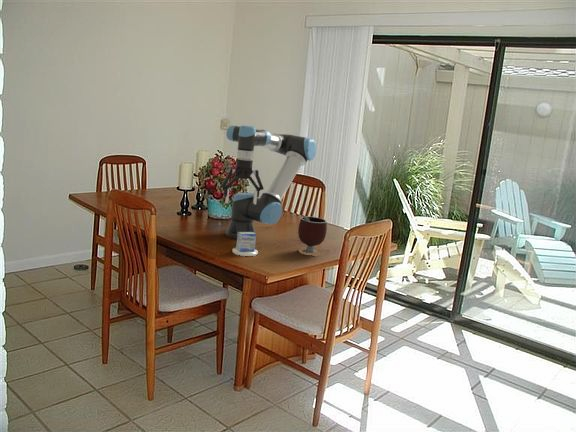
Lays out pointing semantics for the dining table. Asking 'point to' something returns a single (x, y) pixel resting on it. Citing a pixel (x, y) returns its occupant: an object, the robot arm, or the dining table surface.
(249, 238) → the medicine box
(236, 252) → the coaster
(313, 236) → the mate gourd
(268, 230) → the dining table surface
